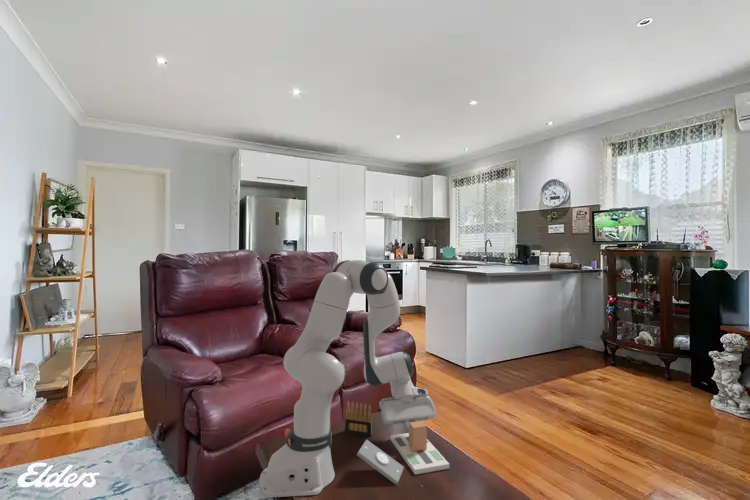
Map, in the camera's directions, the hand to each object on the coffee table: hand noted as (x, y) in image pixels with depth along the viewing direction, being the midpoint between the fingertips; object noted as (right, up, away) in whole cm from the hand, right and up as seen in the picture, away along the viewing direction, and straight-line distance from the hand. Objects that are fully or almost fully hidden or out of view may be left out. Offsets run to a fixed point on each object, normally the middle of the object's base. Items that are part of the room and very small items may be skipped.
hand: (414, 433), depth 133 cm
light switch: (-12, -5, -15) cm, 20 cm away
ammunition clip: (-20, -5, +11) cm, 24 cm away
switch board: (+1, -5, -3) cm, 6 cm away
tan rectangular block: (+1, -3, -2) cm, 4 cm away
